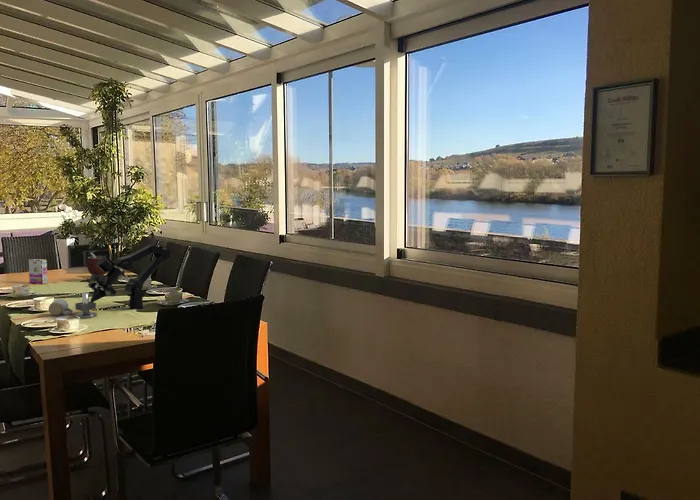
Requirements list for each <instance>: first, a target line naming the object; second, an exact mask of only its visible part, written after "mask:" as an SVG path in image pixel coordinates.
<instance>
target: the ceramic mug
mask: <svg viewBox="0 0 700 500" xmlns="http://www.w3.org/2000/svg"><path fill="white" fill-rule="evenodd" d="M48 313H50V315H52V316H54V317H55V316H56V317H57V316H58V317H59V316H61V315H62V314H64V315H67V316H71V315H72V314H73V313H74V312H73V310H72V309H71V308H69V303H68V302H67V300H65V299H64V298H56V299H54V301H53V302H51V303H50V304H49V306H48Z"/></svg>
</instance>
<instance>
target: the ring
mask: <svg viewBox="0 0 700 500" xmlns="http://www.w3.org/2000/svg"><path fill="white" fill-rule="evenodd" d="M74 304H75V305H74V306H75V310H77V311H80V312H81V311H82V312H83V311H86V310H89V311H92V310H96V309H97V303H96V302H95V301H94V302H91V301H89V303H88V304H82V302H75V303H74Z"/></svg>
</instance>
